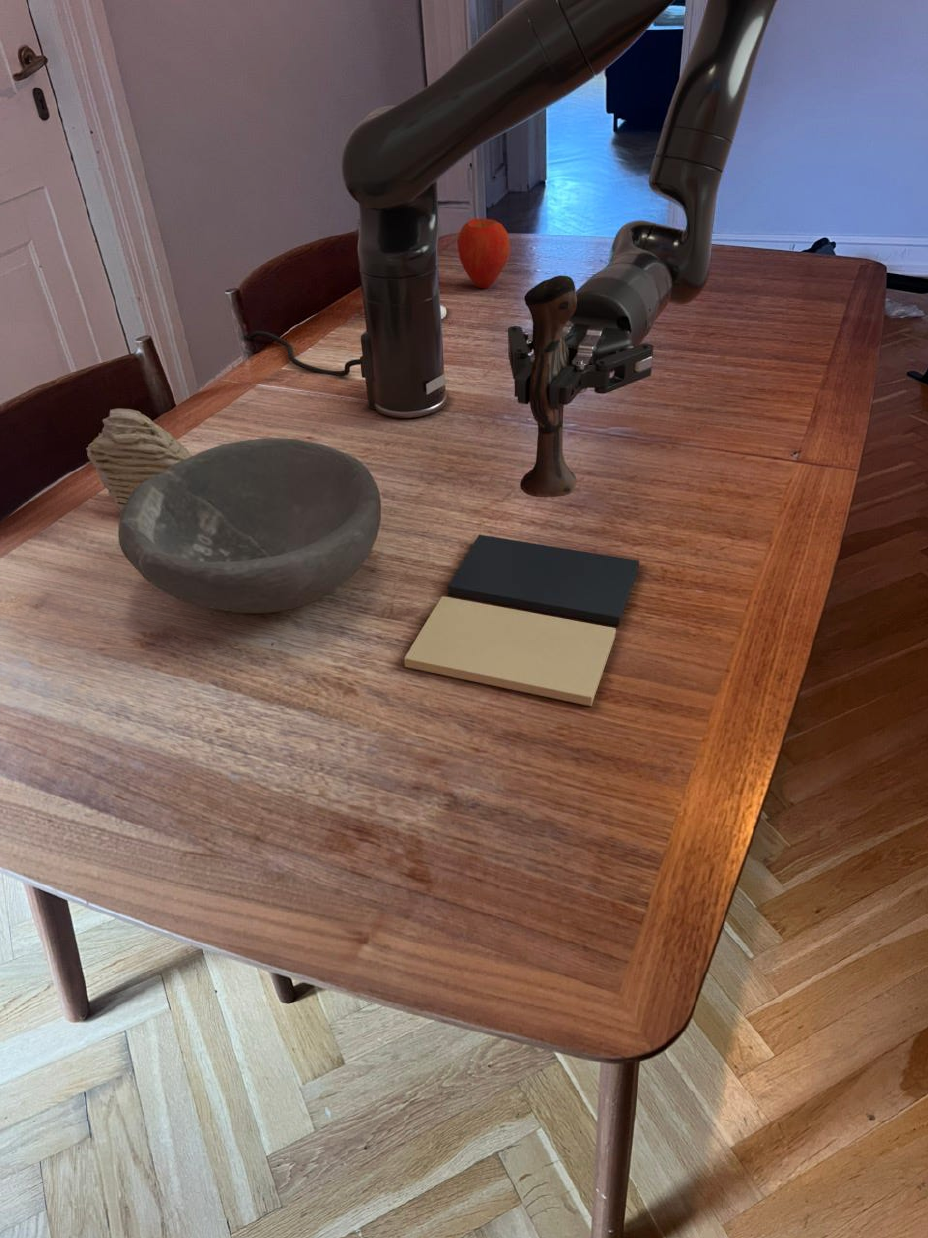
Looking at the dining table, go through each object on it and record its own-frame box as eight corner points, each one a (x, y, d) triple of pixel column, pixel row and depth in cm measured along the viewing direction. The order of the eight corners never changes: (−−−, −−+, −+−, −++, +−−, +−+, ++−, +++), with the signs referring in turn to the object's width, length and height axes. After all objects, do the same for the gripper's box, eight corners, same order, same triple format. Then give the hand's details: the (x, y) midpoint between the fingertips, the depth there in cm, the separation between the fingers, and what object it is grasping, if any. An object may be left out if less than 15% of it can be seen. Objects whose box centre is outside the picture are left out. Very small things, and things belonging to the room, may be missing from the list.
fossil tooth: (212, 540, 93) (88, 511, 96) (240, 507, 98) (120, 480, 100) (193, 446, 85) (58, 417, 88) (225, 414, 90) (95, 388, 93)
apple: (519, 282, 149) (519, 214, 142) (493, 298, 144) (492, 227, 137) (476, 275, 153) (474, 208, 146) (449, 290, 148) (445, 221, 141)
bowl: (280, 695, 72) (257, 598, 66) (97, 612, 82) (61, 520, 76) (435, 554, 87) (428, 464, 81) (264, 497, 97) (246, 413, 91)
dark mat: (448, 594, 82) (447, 586, 81) (479, 542, 89) (479, 534, 88) (618, 626, 77) (619, 617, 77) (638, 568, 84) (639, 560, 83)
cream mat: (404, 667, 74) (403, 658, 74) (442, 604, 81) (441, 595, 80) (591, 706, 70) (591, 697, 69) (615, 636, 76) (616, 627, 76)
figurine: (561, 513, 74) (568, 298, 63) (505, 503, 76) (501, 292, 64) (585, 470, 79) (595, 265, 68) (532, 462, 81) (533, 260, 69)
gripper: (538, 267, 81) (455, 337, 69) (688, 283, 76) (626, 361, 64) (537, 347, 86) (460, 424, 74) (678, 367, 81) (619, 453, 69)
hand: (538, 394), depth 69 cm, fingers closed on figurine
